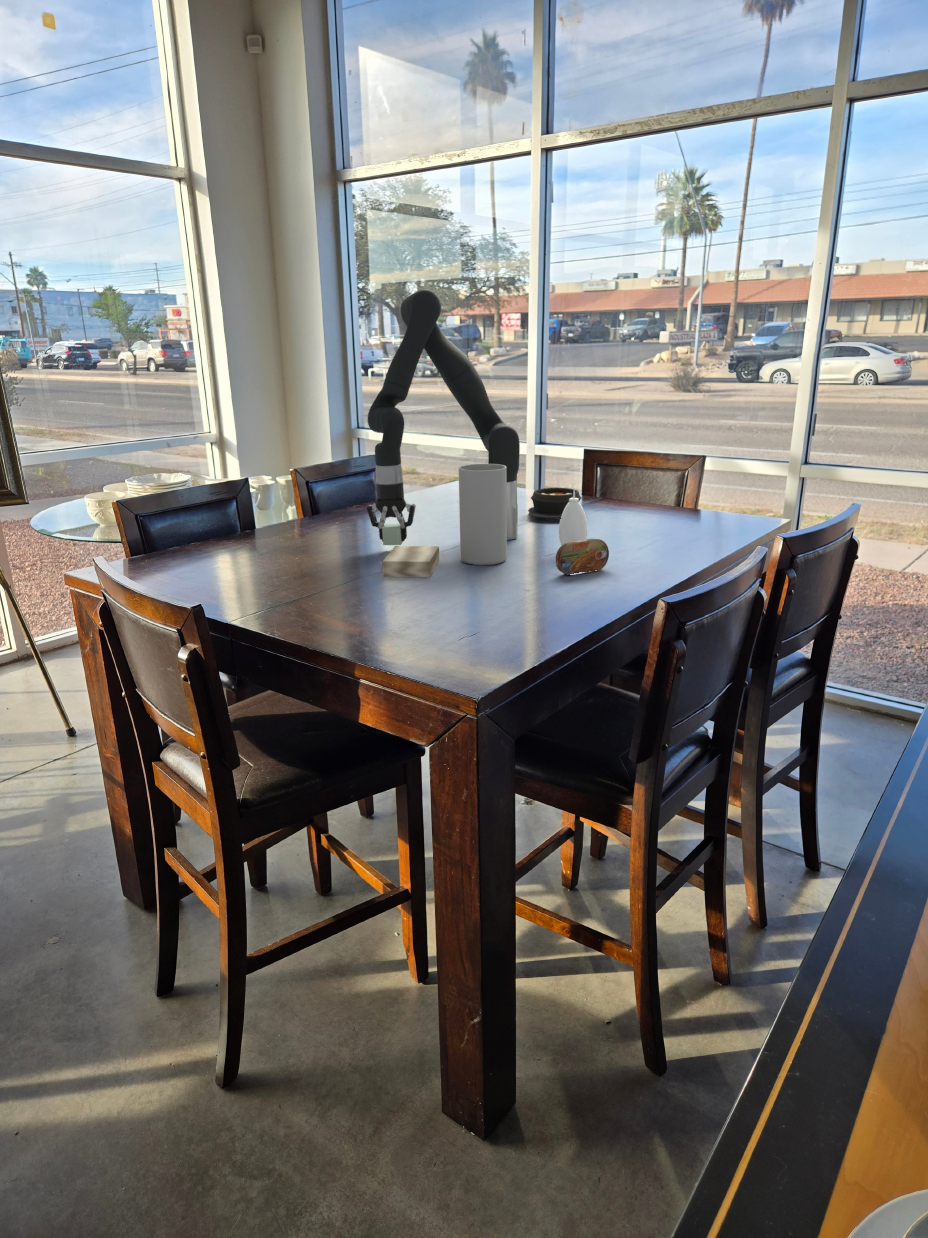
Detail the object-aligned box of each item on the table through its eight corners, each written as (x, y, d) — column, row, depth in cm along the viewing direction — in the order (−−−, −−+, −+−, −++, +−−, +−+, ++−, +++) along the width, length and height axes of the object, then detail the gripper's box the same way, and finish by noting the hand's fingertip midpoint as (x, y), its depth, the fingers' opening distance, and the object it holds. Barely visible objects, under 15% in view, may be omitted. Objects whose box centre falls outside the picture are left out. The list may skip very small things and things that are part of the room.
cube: (403, 540, 228) (402, 523, 226) (400, 544, 223) (399, 527, 222) (386, 540, 229) (385, 523, 227) (383, 545, 224) (382, 527, 222)
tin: (560, 578, 198) (560, 545, 195) (553, 575, 200) (553, 542, 198) (609, 569, 204) (610, 537, 201) (601, 566, 207) (602, 535, 204)
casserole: (568, 525, 254) (568, 499, 251) (515, 520, 262) (515, 495, 260) (594, 511, 275) (595, 486, 272) (544, 507, 283) (544, 483, 281)
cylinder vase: (483, 552, 224) (482, 462, 216) (516, 559, 215) (516, 466, 207) (451, 560, 216) (448, 467, 207) (484, 568, 207) (482, 472, 199)
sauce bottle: (586, 557, 216) (588, 491, 210) (557, 556, 217) (558, 490, 212) (587, 550, 223) (589, 486, 217) (559, 549, 225) (560, 485, 219)
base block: (439, 560, 216) (438, 546, 215) (430, 576, 201) (429, 561, 200) (395, 560, 217) (395, 545, 216) (383, 576, 202) (382, 561, 201)
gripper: (417, 478, 223) (420, 537, 229) (367, 479, 225) (371, 537, 230) (412, 482, 216) (416, 543, 222) (361, 483, 218) (365, 544, 223)
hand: (393, 540), depth 226 cm, fingers closed on cube, 5 cm apart
